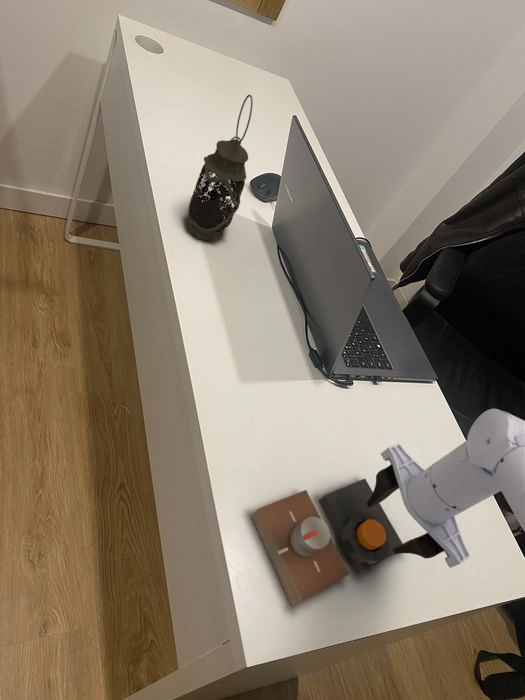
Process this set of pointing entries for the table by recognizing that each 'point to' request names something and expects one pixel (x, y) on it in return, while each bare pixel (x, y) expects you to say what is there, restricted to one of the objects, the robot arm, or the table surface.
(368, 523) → the switch button
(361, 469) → the table surface
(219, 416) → the table surface
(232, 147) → the lantern
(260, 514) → the dimmer panel
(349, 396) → the table surface
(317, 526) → the dial
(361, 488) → the switch block
